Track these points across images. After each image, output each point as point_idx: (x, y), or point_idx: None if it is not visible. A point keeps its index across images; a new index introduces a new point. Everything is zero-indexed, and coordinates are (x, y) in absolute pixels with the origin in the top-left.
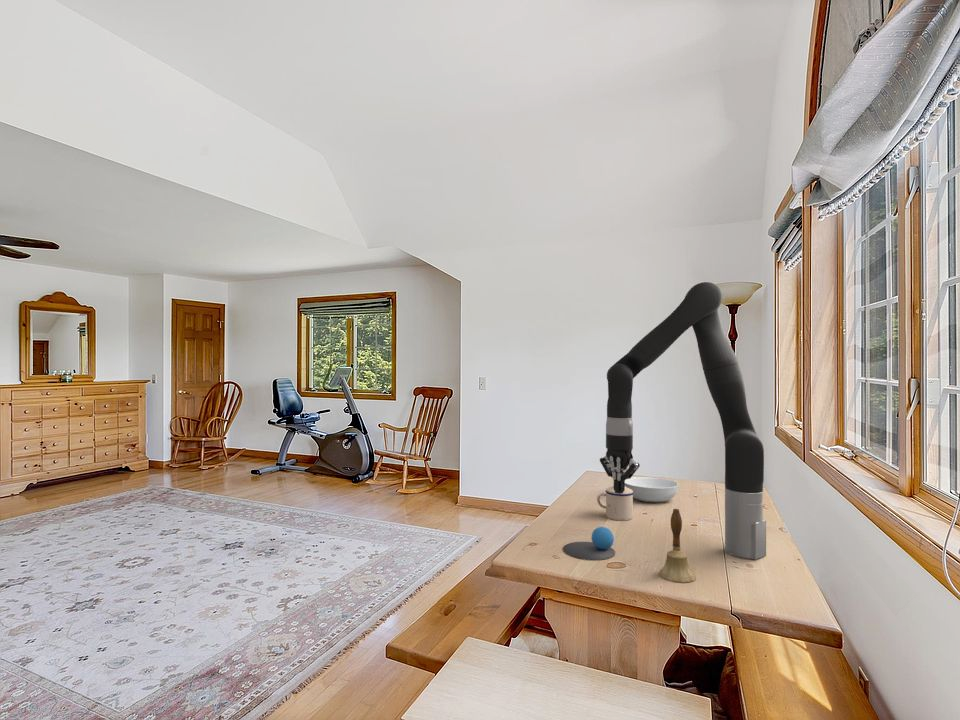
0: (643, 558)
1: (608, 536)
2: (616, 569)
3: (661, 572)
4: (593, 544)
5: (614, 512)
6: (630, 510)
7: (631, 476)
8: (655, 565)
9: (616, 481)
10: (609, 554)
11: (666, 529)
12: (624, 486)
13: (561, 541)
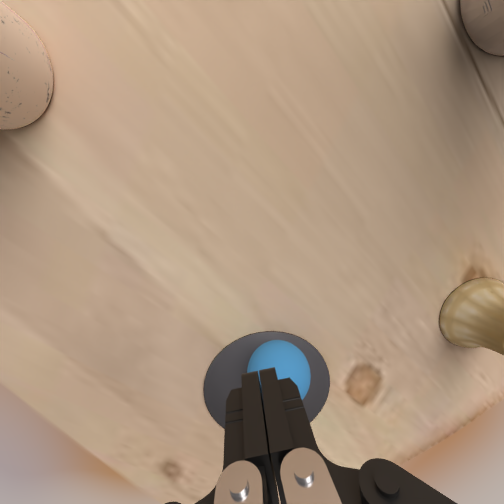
0: (369, 306)
1: (309, 384)
2: (380, 397)
3: (460, 344)
4: (239, 357)
5: (5, 115)
6: (16, 30)
7: (431, 493)
8: (413, 311)
9: (276, 498)
10: (314, 364)
11: (213, 18)
12: (304, 408)
13: (180, 408)
